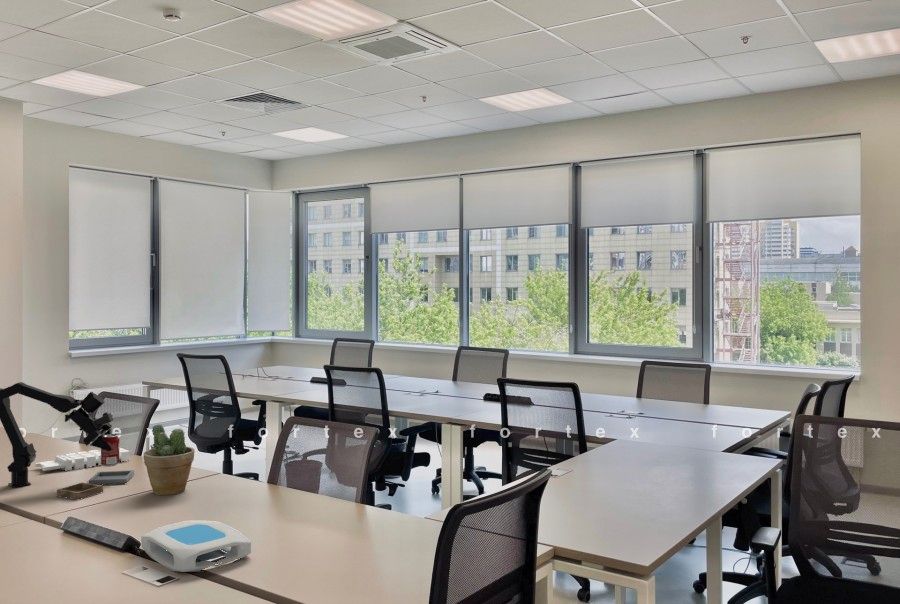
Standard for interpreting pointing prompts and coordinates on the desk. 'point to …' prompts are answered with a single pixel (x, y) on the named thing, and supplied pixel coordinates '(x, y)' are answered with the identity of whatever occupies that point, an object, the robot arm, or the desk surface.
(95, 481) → the tray
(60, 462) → the organizer
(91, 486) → the square frame
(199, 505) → the desk surface
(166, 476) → the potted plant
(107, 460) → the soda can
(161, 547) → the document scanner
